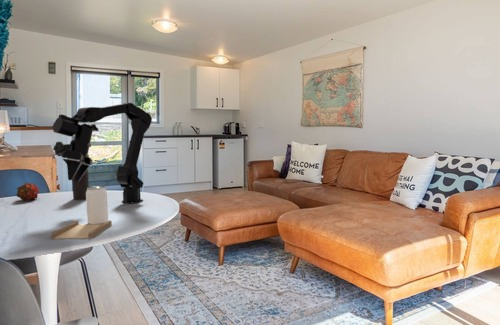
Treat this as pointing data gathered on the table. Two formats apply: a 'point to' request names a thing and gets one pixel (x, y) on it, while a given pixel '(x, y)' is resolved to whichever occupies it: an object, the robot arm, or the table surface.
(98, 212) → the can
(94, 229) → the wooden tray
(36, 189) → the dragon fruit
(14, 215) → the table surface
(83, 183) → the bottle
